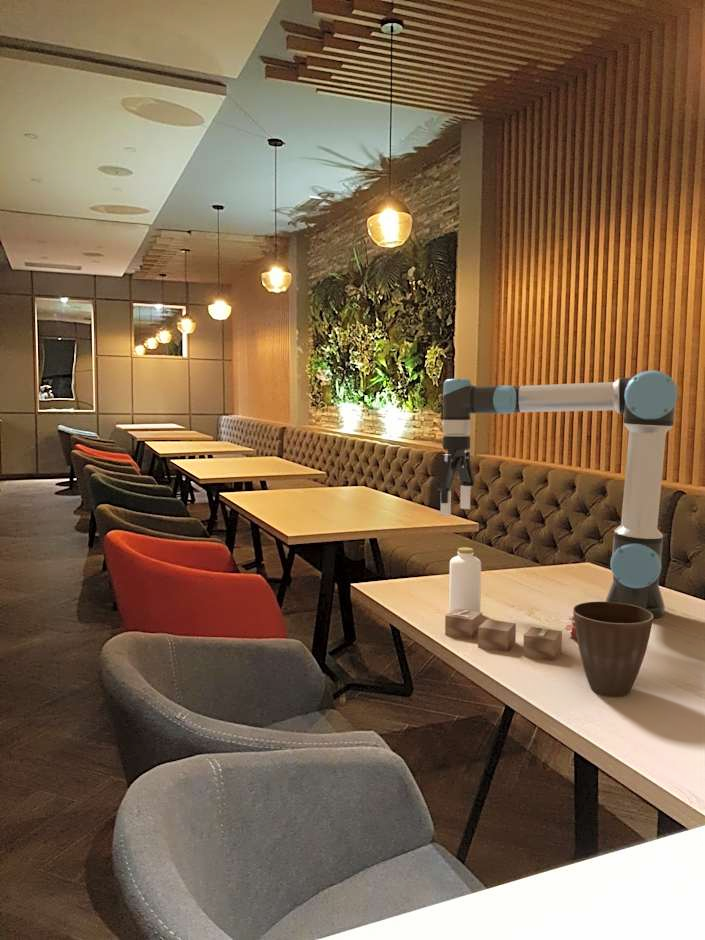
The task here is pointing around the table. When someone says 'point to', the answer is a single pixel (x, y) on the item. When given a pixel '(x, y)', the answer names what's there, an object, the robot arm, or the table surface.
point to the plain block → (496, 635)
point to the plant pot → (612, 644)
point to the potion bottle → (465, 581)
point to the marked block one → (542, 643)
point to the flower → (572, 627)
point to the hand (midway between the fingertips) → (455, 511)
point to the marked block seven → (463, 623)
